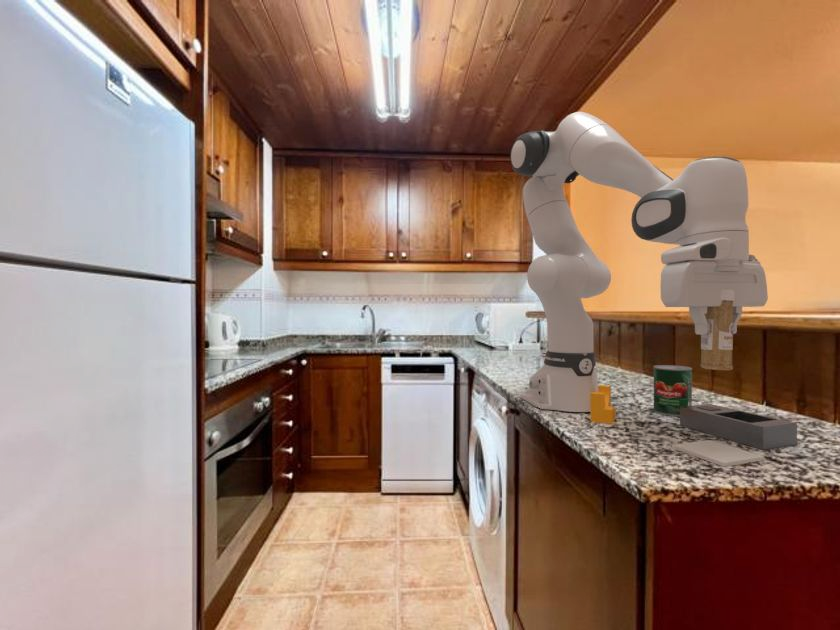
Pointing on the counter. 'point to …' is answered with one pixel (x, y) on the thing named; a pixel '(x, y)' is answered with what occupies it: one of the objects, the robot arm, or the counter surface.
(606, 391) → the orange stepped block
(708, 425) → the grey open box
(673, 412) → the canned tomato
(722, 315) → the sprinkles bottle
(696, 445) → the plate
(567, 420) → the counter surface
